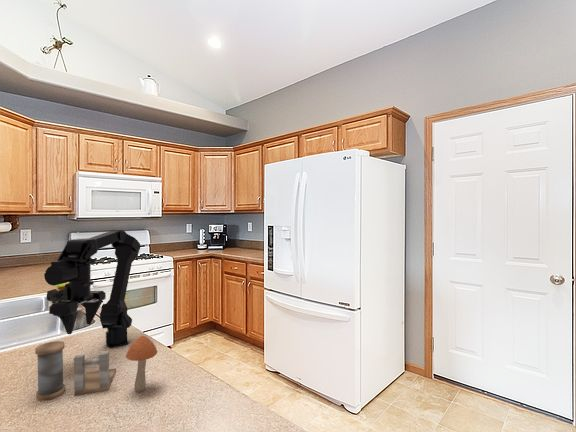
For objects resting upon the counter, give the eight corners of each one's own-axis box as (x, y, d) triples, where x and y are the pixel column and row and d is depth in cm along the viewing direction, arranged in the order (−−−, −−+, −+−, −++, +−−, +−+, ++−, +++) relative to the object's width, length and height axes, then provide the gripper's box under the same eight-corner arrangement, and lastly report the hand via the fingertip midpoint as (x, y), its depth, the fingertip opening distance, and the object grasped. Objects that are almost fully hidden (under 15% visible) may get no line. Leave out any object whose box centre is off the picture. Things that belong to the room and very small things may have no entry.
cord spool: (65, 384, 93) (64, 339, 93) (65, 395, 88) (64, 347, 88) (36, 392, 89) (35, 344, 89) (35, 403, 84) (34, 353, 84)
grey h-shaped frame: (86, 375, 98) (85, 342, 98) (116, 371, 101) (115, 339, 100) (74, 395, 88) (73, 358, 87) (107, 390, 90) (107, 354, 90)
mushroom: (164, 384, 93) (163, 332, 93) (143, 400, 85) (142, 342, 85) (141, 380, 96) (140, 328, 95) (119, 394, 88) (118, 339, 88)
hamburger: (82, 288, 210) (82, 274, 209) (72, 292, 198) (72, 278, 197) (62, 288, 208) (62, 275, 208) (51, 293, 196) (50, 279, 196)
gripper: (74, 274, 113) (74, 319, 113) (30, 285, 94) (30, 339, 94) (106, 274, 113) (106, 320, 112) (69, 285, 94) (68, 339, 94)
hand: (79, 328), depth 103 cm, fingers open, 9 cm apart
